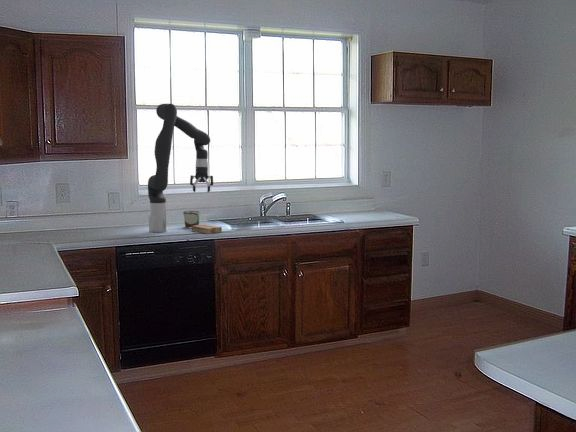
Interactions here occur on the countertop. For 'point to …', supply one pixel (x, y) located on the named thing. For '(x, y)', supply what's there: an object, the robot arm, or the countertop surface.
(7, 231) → the countertop surface
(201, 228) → the flat wooden block
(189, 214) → the food container
